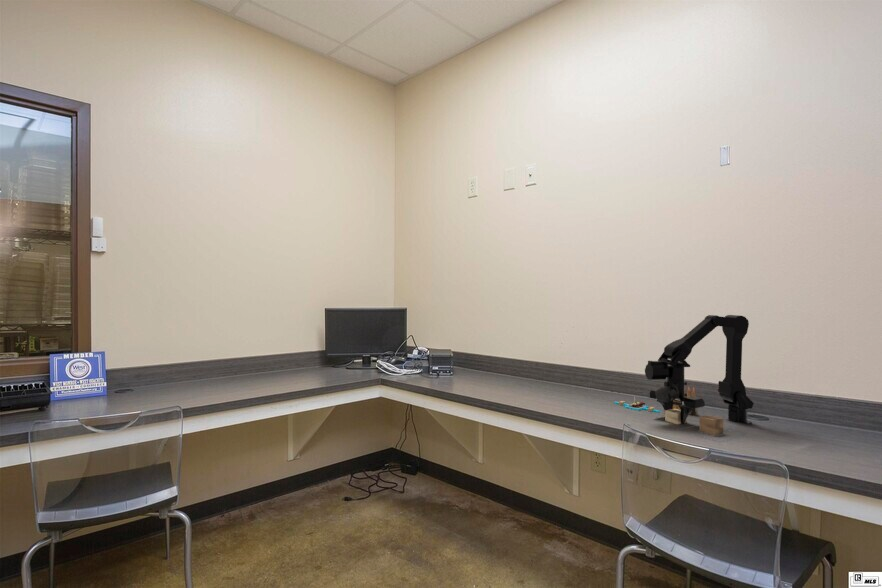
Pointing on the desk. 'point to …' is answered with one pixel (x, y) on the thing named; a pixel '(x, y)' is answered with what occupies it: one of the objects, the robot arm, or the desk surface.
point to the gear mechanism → (637, 406)
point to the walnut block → (711, 425)
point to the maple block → (673, 416)
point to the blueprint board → (712, 435)
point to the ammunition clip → (677, 403)
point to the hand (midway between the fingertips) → (675, 421)
